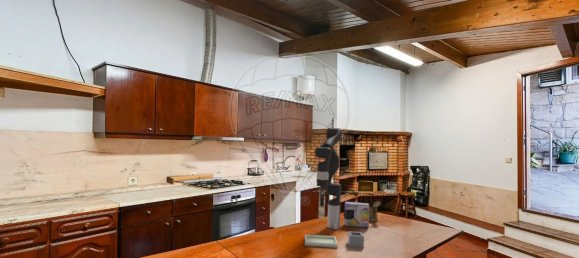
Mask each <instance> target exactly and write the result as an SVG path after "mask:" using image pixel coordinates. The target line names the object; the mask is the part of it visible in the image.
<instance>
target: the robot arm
mask: <svg viewBox="0 0 579 258" xmlns="http://www.w3.org/2000/svg"><path fill="white" fill-rule="evenodd" d="M325 134H326V139H325V140H324V141H323V143H322V144H320V145H318V146H317V147H316V148H315V150H314V155H315V157H316V158H318V159H324V160H323V161H319V162H317V165H316V166H317V168H316V170H317V171H316V186H317V187H319V188H318V192H319V194H318V195H319V196H320V206H324V197H325V198H326V194H327V195H328V196H336V197H334V198H332V199H331V198H330V199H329V200H328V201H327V225H326V226H327V228H328V229H331V230H339V229H340V228H341V226H340V225H341V196H342V185H341V183H337V182H332V180H333V177H334V176H335V174H336V173H337V172H338V170H339V168H340V156H339V154H338V153H337V151H336V149H335V148H334V147H335V145H336V144H338V143H339V142H340V141H341V140H342V138H343V131H342V129H341V128H335V127H328V128H327V129H326V133H325ZM319 196H318V197H319ZM321 197H323V198H321Z"/></svg>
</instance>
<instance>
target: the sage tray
mask: <svg viewBox="0 0 579 258" xmlns="http://www.w3.org/2000/svg"><path fill="white" fill-rule="evenodd" d="M304 246H305V247H312V248H313V247H314V248H331V249H332V248H333V249H338V241H337V237H336V236H334V235H317V234H305V235H304Z"/></svg>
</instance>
